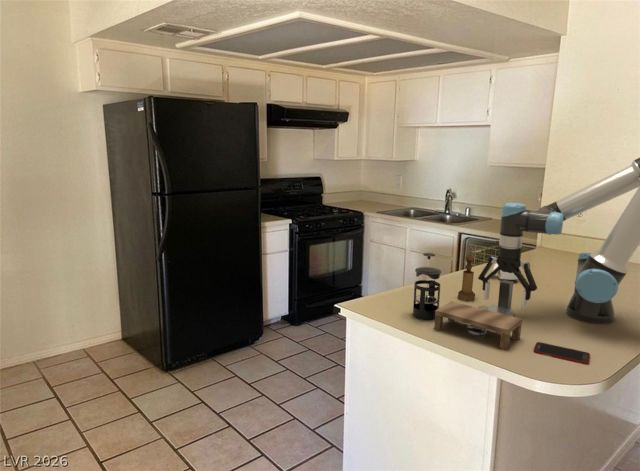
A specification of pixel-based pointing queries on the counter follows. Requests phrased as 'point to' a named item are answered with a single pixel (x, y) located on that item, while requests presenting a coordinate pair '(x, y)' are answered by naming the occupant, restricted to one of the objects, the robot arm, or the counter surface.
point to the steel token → (476, 331)
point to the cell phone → (562, 353)
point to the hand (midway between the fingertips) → (504, 303)
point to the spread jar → (505, 275)
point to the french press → (426, 302)
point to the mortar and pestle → (467, 282)
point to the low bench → (480, 320)
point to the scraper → (503, 299)
